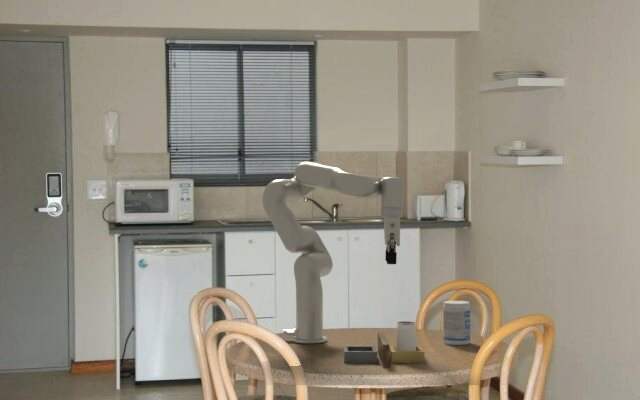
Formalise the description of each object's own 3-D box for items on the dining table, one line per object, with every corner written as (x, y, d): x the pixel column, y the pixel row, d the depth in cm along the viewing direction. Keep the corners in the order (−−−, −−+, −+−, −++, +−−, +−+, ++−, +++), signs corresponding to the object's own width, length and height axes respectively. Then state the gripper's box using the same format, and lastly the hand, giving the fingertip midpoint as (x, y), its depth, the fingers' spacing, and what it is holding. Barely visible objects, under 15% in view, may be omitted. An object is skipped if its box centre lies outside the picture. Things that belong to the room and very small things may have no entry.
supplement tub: (471, 346, 338) (471, 303, 338) (443, 345, 339) (443, 303, 338) (468, 341, 348) (469, 300, 347) (442, 340, 348) (442, 300, 348)
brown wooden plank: (382, 367, 301) (382, 344, 301) (377, 352, 325) (377, 331, 325) (389, 367, 301) (389, 344, 301) (383, 352, 325) (383, 331, 325)
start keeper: (344, 362, 308) (344, 351, 308) (343, 356, 318) (343, 346, 318) (377, 362, 308) (377, 351, 308) (375, 356, 318) (375, 346, 318)
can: (415, 361, 309) (415, 324, 309) (395, 361, 310) (395, 323, 310) (417, 358, 316) (417, 321, 315) (397, 357, 317) (397, 320, 316)
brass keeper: (391, 362, 308) (391, 351, 308) (389, 356, 318) (389, 345, 318) (424, 362, 308) (424, 351, 308) (420, 356, 318) (420, 345, 318)
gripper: (404, 214, 324) (403, 265, 325) (401, 211, 342) (400, 260, 342) (382, 214, 324) (380, 265, 325) (379, 211, 342) (378, 260, 342)
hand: (390, 262), depth 334 cm, fingers open, 9 cm apart
